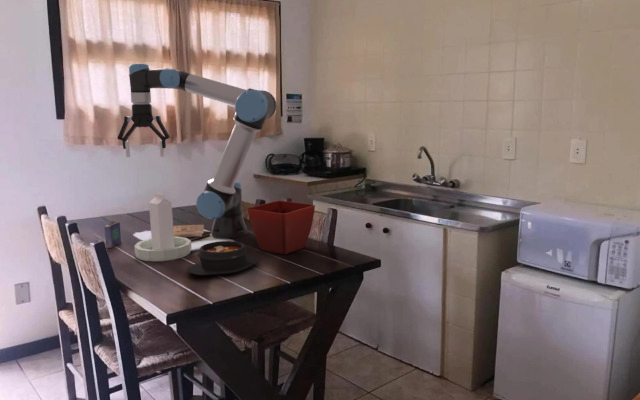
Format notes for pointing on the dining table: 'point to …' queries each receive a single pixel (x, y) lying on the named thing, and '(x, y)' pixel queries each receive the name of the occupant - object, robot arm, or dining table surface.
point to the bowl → (163, 250)
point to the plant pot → (281, 225)
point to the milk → (161, 223)
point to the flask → (112, 234)
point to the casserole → (222, 259)
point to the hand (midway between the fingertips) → (145, 156)
